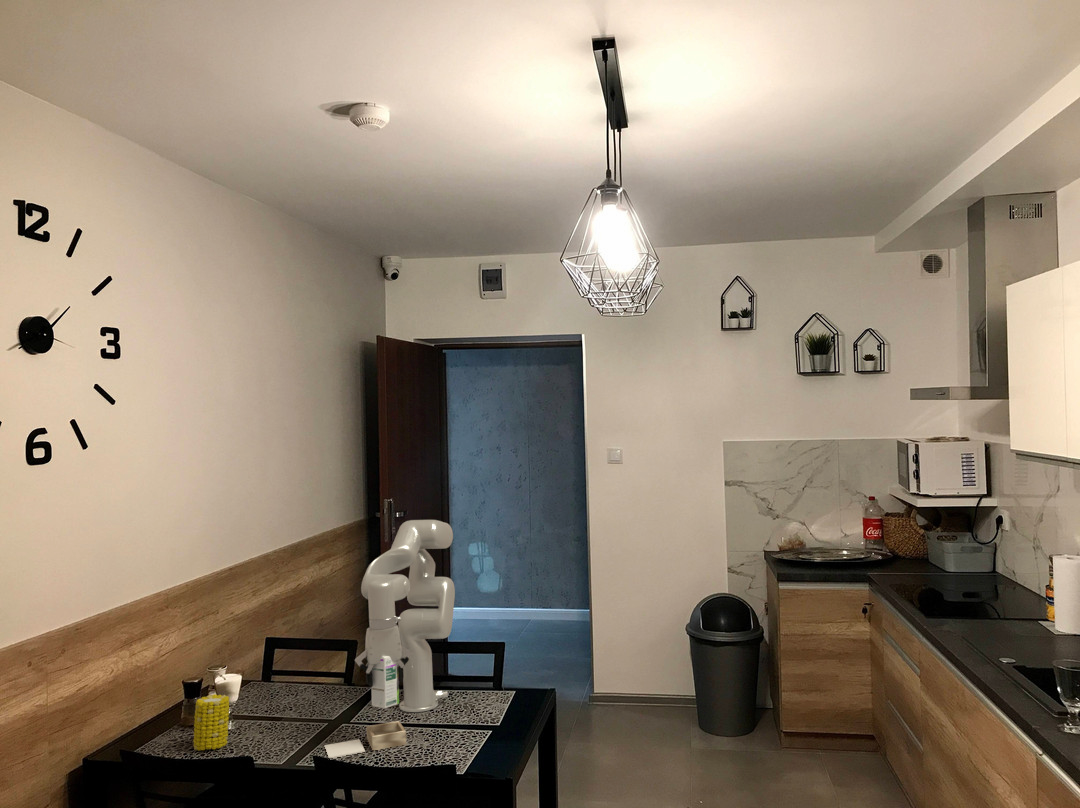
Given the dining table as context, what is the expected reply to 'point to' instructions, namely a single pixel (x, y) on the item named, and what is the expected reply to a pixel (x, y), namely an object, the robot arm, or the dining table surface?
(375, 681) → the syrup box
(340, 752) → the plate
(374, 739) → the wooden tray
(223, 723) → the food
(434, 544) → the robot arm
